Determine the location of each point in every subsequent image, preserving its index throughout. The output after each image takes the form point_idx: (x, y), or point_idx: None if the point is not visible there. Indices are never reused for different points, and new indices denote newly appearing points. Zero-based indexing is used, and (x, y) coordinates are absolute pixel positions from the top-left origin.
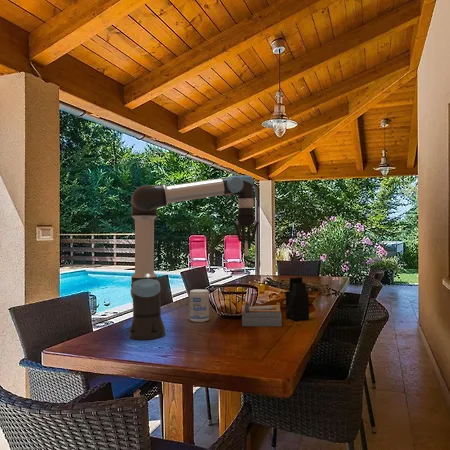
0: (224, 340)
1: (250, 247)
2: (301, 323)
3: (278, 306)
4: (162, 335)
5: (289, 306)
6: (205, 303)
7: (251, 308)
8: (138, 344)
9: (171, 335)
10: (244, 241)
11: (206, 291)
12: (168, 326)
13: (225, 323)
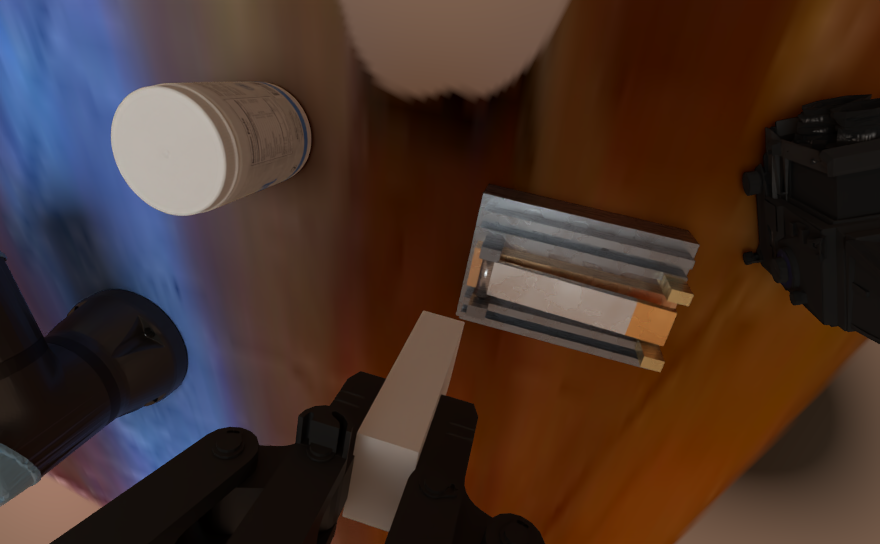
0: None
1: (474, 430)
2: (767, 313)
3: (652, 367)
4: (182, 377)
5: (780, 222)
6: (254, 189)
7: (507, 298)
8: (144, 429)
9: (208, 362)
10: (330, 530)
11: (217, 195)
12: (163, 228)
13: (392, 227)
